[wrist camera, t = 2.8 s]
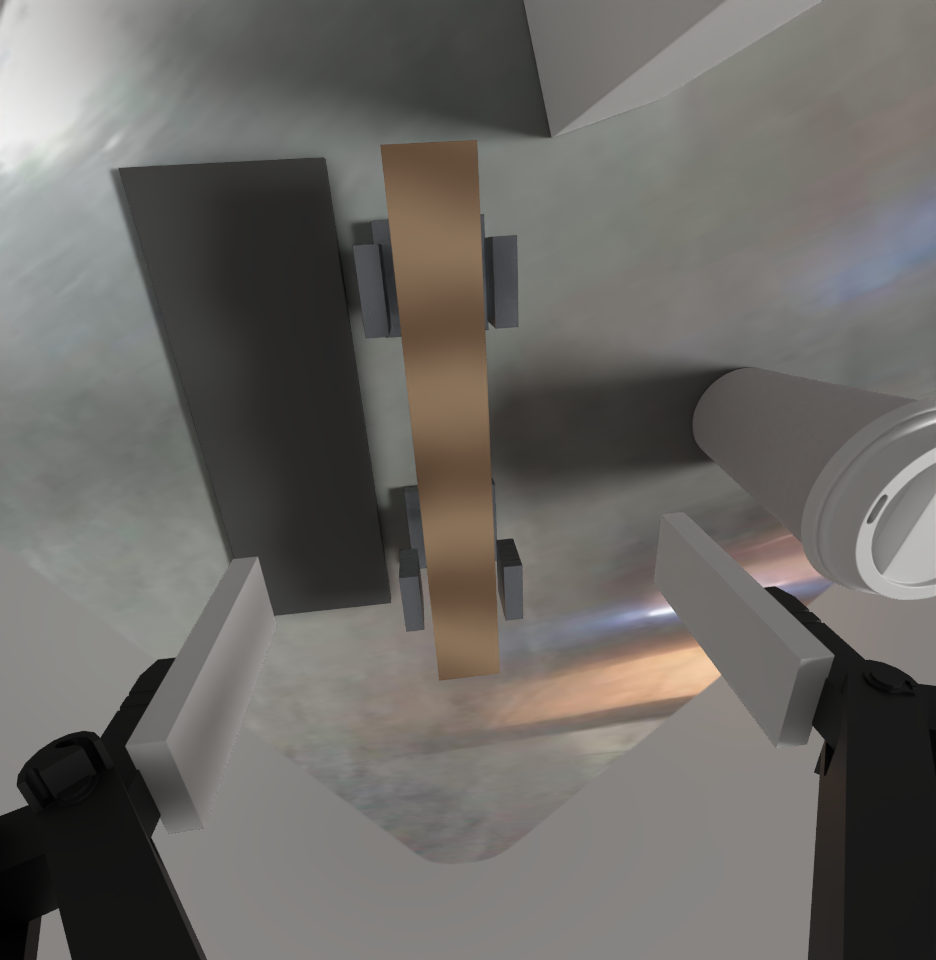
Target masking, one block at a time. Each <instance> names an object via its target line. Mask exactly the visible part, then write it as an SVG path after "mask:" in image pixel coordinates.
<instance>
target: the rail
mask: <svg viewBox="0 0 936 960" xmlns="http://www.w3.org/2000/svg"><path fill="white" fill-rule="evenodd" d="M381 154H382V163H383V172H384V181H385V190H386V199H387V209H388V218H389V227H390V236H391V245H392V254H393V263H394V272H395V281H396V290H397V300H398V309H399V318H400V327H401V336H402V345H403V354H404V363H405V372H406V381H407V390H408V400H409V409H410V418H411V427H412V436H413V445H414V454H415V463H416V472H417V481H418V490H419V500H420V509H421V518H422V527H423V536H424V545H425V554H426V563H427V572H428V581H429V591H430V600H431V609H432V618H433V627H434V636H435V645H436V654H437V663H438V672H439V681H440V680H448V679H457V678H465V677H473V676H482V675H490V674H498V673H500V667H499V644H498V621H497V597H496V574H495V550H494V527H493V503H492V480H491V457H490V433H489V410H488V386H487V363H486V339H485V316H484V292H483V269H482V246H481V222H480V199H479V175H478V152H477V140H469V141H449V142H429V143H410V144H390V145H381Z"/></svg>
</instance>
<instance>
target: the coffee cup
mask: <svg viewBox="0 0 936 960" xmlns="http://www.w3.org/2000/svg"><path fill="white" fill-rule="evenodd" d="M692 429H693V435H694V438H695V441H696V443H697V444H698V446H699V447H700V448H701V449H702V450H703V451H704V452H705V453H706V454H707V455H708V456H709V457H710V458H711V459H712V460H713V461H714V462H715V463H716V464H718V465H719V466H720V467H721V468H722V469H723V470H724V471H725V472H726V473H727V474H728V475H729V476H730V477H732V478H733V479H734V480H735V481H736V482H737V483H738V484H739V485H740V486H741V487H742V488H743V489H745V490H746V491H747V492H748V493H749V494H750V495H751V496H752V497H753V498H754V499H755V500H756V501H757V502H758V503H760V504H761V505H762V506H763V507H764V508H765V509H766V510H767V511H768V512H769V513H770V514H771V515H772V516H773V517H775V518H776V519H777V520H778V521H779V522H780V523H781V524H782V525H783V526H784V527H785V528H786V529H787V530H788V531H789V532H790V533H792V534H793V535H794V536H795V537H796V538H797V539H798V540H799V541H800V542H801V543H802V545H803V549H804V552H805V554H806V557H807V559H808V560H809V562H810V564H811V565H812V566H813V568H814V569H815V570H816V571H817V572H818V573H819V574H821V575H822V576H823V577H825V578H827V579H828V580H830V581H832V582H834V583H837V584H839V585H841V586H844V587H846V588H849V589H853V590H857V591H860V592H864V593H870V594H880V595H883V596H885V597H889V598H893V599H900V600H916V599H924V598H929V597H933V596H936V397H933V398H927V399H923V400H914V399H909V398H904V397H899V396H894V395H888V394H883V393H878V392H873V391H868V390H863V389H858V388H853V387H848V386H843V385H838V384H833V383H828V382H823V381H818V380H814V379H809V378H804V377H799V376H794V375H789V374H784V373H779V372H774V371H769V370H764V369H759V368H742V369H737V370H734V371H732V372H729V373H727V374H725V375H723V376H722V377H720V378H719V379H717V380H716V381H715V382H714V383H713V384H711V385H710V386H709V388H708V389H707V390H706V391H705V392H704V394H703V395H702V396H701V398H700V400H699V402H698V404H697V406H696V408H695V411H694V415H693V422H692Z"/></svg>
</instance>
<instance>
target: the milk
mask: <svg viewBox="0 0 936 960" xmlns="http://www.w3.org/2000/svg"><path fill="white" fill-rule="evenodd" d="M821 1H823V0H524V5H525V10H526V15H527V20H528V25H529V30H530V35H531V40H532V45H533V50H534V55H535V60H536V64H537V69H538V74H539V79H540V84H541V89H542V94H543V99H544V104H545V109H546V114H547V119H548V123H549V128H550V133H551V137H556V136H559V135H562V134H565V133H567V132H570V131H573V130H576V129H579V128H581V127H584V126H587V125H590V124H593V123H596V122H598V121H601V120H604V119H607V118H610V117H612V116H615V115H618V114H621V113H624V112H626V111H629V110H632V109H635V108H638V107H640V106H643V105H646V104H649V103H652V102H654V101H657V100H659V99H661V98H663V97H664V96H666V95H668V94H669V93H671V92H673V91H674V90H676V89H678V88H679V87H681V86H683V85H684V84H686V83H688V82H689V81H691V80H692V79H694V78H696V77H697V76H699V75H701V74H702V73H704V72H706V71H707V70H709V69H711V68H712V67H714V66H716V65H717V64H719V63H720V62H722V61H724V60H725V59H727V58H729V57H730V56H732V55H734V54H735V53H737V52H739V51H740V50H742V49H744V48H745V47H747V46H749V45H750V44H752V43H753V42H755V41H757V40H758V39H760V38H762V37H763V36H765V35H767V34H768V33H770V32H772V31H773V30H775V29H777V28H778V27H780V26H781V25H783V24H785V23H786V22H788V21H790V20H791V19H793V18H795V17H796V16H798V15H800V14H801V13H803V12H805V11H806V10H808V9H810V8H811V7H813V6H814V5H816V4H818V3H819V2H821Z"/></svg>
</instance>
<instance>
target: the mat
mask: <svg viewBox="0 0 936 960" xmlns="http://www.w3.org/2000/svg"><path fill="white" fill-rule="evenodd" d="M119 172H120V175H121V178H122V182H123V185H124V188H125V192H126V195H127V198H128V202H129V205H130V209H131V212H132V215H133V219H134V222H135V225H136V229H137V232H138V236H139V239H140V242H141V246H142V249H143V252H144V256H145V259H146V262H147V266H148V269H149V273H150V276H151V279H152V283H153V286H154V289H155V293H156V296H157V299H158V303H159V306H160V310H161V313H162V316H163V320H164V323H165V326H166V330H167V333H168V336H169V340H170V343H171V347H172V350H173V353H174V357H175V360H176V363H177V367H178V370H179V374H180V377H181V380H182V384H183V387H184V390H185V394H186V397H187V400H188V404H189V407H190V411H191V414H192V417H193V421H194V424H195V427H196V431H197V434H198V437H199V441H200V444H201V448H202V451H203V454H204V458H205V461H206V464H207V468H208V471H209V474H210V478H211V481H212V485H213V488H214V491H215V495H216V498H217V501H218V505H219V508H220V512H221V515H222V518H223V522H224V525H225V528H226V532H227V535H228V538H229V542H230V545H231V549H232V552H233V555H234V559H240V558H249V557H258V559H259V563H260V566H261V570H262V574H263V577H264V581H265V585H266V588H267V592H268V596H269V599H270V603H271V607H272V611H273V614H274V616H276V615H285V614H294V613H303V612H312V611H321V610H331V609H340V608H349V607H358V606H367V605H377V604H386V603H391V594H390V587H389V580H388V574H387V567H386V560H385V554H384V547H383V540H382V534H381V527H380V520H379V514H378V507H377V500H376V494H375V487H374V480H373V474H372V467H371V460H370V454H369V447H368V440H367V434H366V427H365V420H364V413H363V407H362V400H361V393H360V387H359V380H358V373H357V367H356V360H355V353H354V347H353V340H352V333H351V327H350V320H349V313H348V307H347V300H346V293H345V287H344V280H343V273H342V267H341V260H340V253H339V247H338V240H337V233H336V227H335V220H334V213H333V207H332V200H331V193H330V186H329V180H328V173H327V166H326V160H325V158H324V157H322V158H303V159H283V160H264V161H245V162H225V163H206V164H187V165H167V166H148V167H129V168H119Z"/></svg>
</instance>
